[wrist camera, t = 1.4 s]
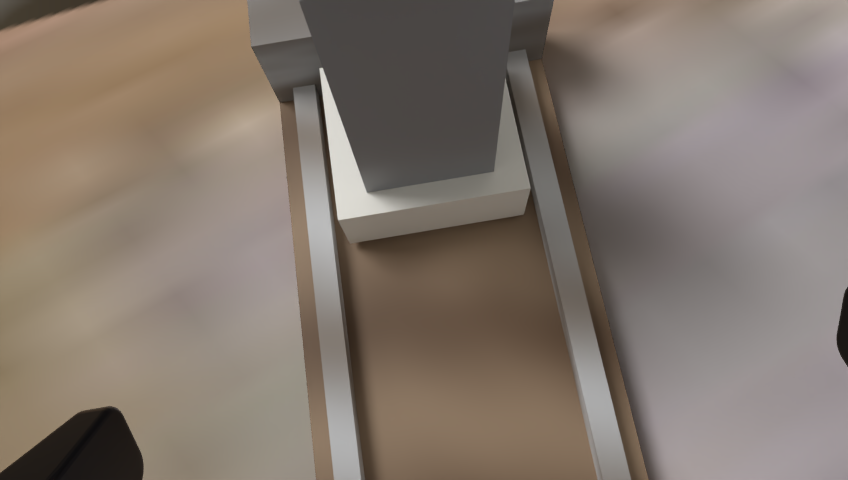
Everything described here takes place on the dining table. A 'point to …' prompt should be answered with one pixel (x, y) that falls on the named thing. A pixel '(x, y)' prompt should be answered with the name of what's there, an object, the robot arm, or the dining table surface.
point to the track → (450, 305)
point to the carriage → (418, 113)
